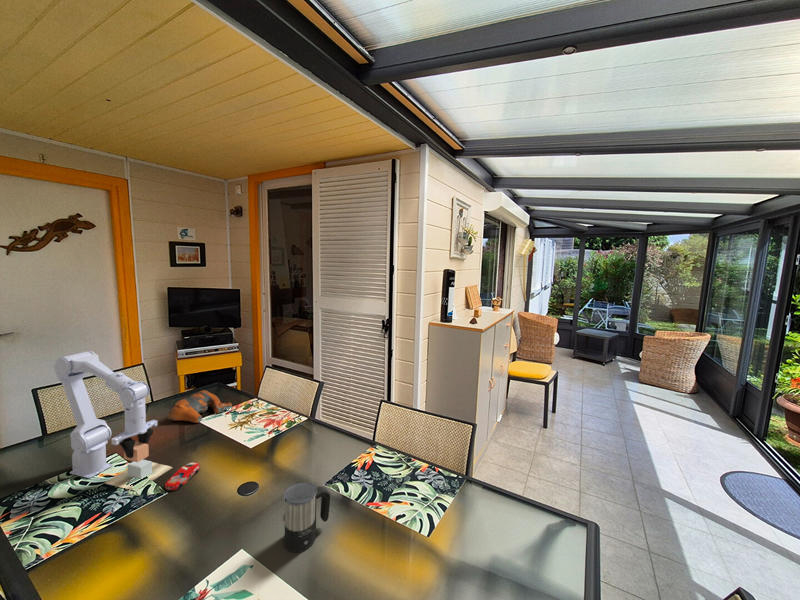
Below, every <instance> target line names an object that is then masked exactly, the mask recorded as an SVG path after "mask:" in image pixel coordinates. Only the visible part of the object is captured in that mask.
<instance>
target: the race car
mask: <svg viewBox="0 0 800 600" xmlns="http://www.w3.org/2000/svg"><path fill="white" fill-rule="evenodd" d="M200 470H201V465H200V463H199V462H195V461H194V462H188V463H187V464H185V465H183V466H181V467H180V468H179V469H178V470H177V471H175V473H173V474H172V476H171V477H170V478H169V479H168V480H166V482H165V484H164V489H165V490H166V491H169V492H170V491H176V490H180V489H181V488H182V487H183V486H184V485H185V484H187V483H188V482H189V481H190V480H191V479H192V478H194V477H195V476H196V475H197V474H199V472H200Z"/></svg>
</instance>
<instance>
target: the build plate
mask: <svg viewBox="0 0 800 600" xmlns="http://www.w3.org/2000/svg"><path fill="white" fill-rule="evenodd" d="M173 468H174V467H173V466H171V465H165V464H161V463H158V462H153V461H152V473H151V474H149V475H148V476H147V477H148V479H150V480H151V482H153V481H155V480H157V479H158V478H159V477H160V476H162V475H164V474H166V473H167V472H168V471H170V470H172V469H173ZM132 478H133V477H129V476H128V468H127V469H125V470H124V471H123V472H121V473H119V474H117V475H115V476H114V477H111V478H109V479H108V480H107V481H105V482H104V484H106V485H110V486H114V487H117V488H121V489H124V488H125V489H124V490H128V489H129V491H131V489H133V488H132V487H134V486H133V485H131V484H129V485H126V484H127V483H126V482H129V481H130V480H131V479H132ZM131 481H133V480H131ZM130 485H131V486H130ZM132 492H135V491H134V490H133V491H132Z"/></svg>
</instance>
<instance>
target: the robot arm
mask: <svg viewBox="0 0 800 600" xmlns="http://www.w3.org/2000/svg"><path fill="white" fill-rule="evenodd" d="M53 368H54V371H55V374H56V377H57V379H58V381H59V382H60V383H61V385H62V387H63V390H64V393H65V396H66V398H67V401H68V404H69V407H70V409H71V413H72V415H73V418H74V420H75V423H76V427H75V428H74V429H73V431H72V432H71V433H70V434H69V436H70V442H71V443H70V446H71V449H72V450H73V452H72V455H71V461H72V470H71V471H70V472H69V474H70V475H74V476H79V477H81V478H82V477H83V478H85V479H91V478H93V477H94V476H97V475H99V474H100V473H102V472H105V471H106V470H108V469H110V468H111V467H113V465H114V464H112V463H108V462H107V452H106V451H107V447H106V445H107V444H108V443H109V442H108V441H109V440H110V441H111V445H113V446H117V445H120V447H121V448H122V450H123V452H124V451H125V454H126V457H128V458H132V457H133V449H134V444H135V441H137V440H135V439H133V438H132V437H134V436H137V439H138V442H141V443H145V444H148V443H149V441H150V438H151V437H152V435H153V433H154V429H151V428H153V427H155V428H156V427H158V420H156V419H152V420H149V421H146V419H147V416H146V397H148V395H150V387H149V385H148V383H146V382H145V381H141V380H140V381H139V380H138V381H137V380H134V379H132V378H130V377H129V376H127V375H125V373H123V372H122V371H121V372H120V371H118V372H115V371H113V370H111V369H110V368H109V367H108V366H107V365H105V364H104V363H102V362H101V360H100V358H99V355H98V354H96V353H95V352H94V351H92V350H86V351H82V352H78V353H74V354H70V355H66V356H60V357H58V358H57V359H56V361H55V362H54V364H53ZM88 373H89V374H92V375H93V376H96V377H97V378H99V379H101V380H102V381H105V382H104V384H105V387H107V388H108V389H110V390H112V391H113V392H115V393H116V394H118V397H119V400H120V401H121V404H122V407H123V408H124V430H123V431H122V432H120V433H119V434H117V435H116V436H115V437H113V438H111V437H112V430H111V428H110V427H109V425H108V424H107V421H106V420H104V419H98V418H97V416H96V413H95V410H94V408H93V405H92V402H91V400H90V396H89V394H88V391H87V388H86V385H85V382H84V380H83V379H84V377H85V375H87V374H88ZM148 445H149V444H148Z"/></svg>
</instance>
